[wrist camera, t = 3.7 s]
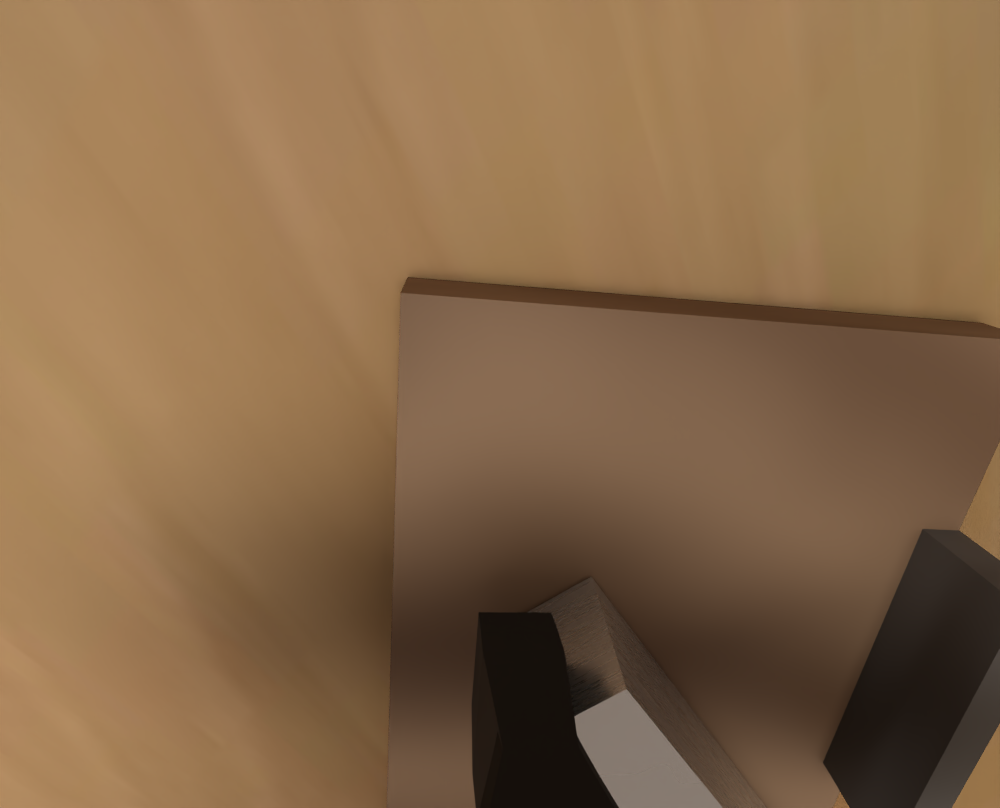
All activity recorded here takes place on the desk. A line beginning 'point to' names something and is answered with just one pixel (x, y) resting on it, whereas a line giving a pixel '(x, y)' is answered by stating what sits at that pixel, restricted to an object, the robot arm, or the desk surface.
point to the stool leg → (638, 714)
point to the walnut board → (705, 525)
